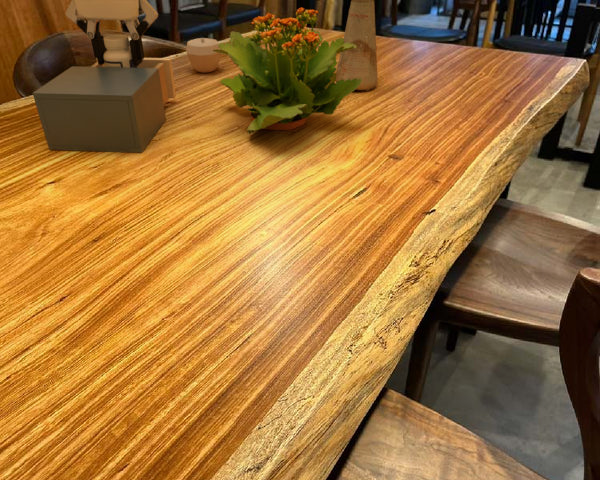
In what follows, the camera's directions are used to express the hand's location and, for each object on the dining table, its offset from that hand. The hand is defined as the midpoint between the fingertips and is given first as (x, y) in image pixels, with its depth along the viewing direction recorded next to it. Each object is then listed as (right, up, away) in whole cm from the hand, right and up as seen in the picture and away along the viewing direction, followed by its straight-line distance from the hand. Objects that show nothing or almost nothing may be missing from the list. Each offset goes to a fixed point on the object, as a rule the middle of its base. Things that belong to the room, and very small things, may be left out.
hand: (120, 62), depth 91 cm
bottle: (+42, +3, +19) cm, 46 cm away
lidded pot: (+10, +10, +28) cm, 31 cm away
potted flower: (+27, -9, +3) cm, 29 cm away
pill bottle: (0, -4, +3) cm, 5 cm away
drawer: (0, -5, +7) cm, 8 cm away
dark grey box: (-1, -13, -3) cm, 14 cm away
